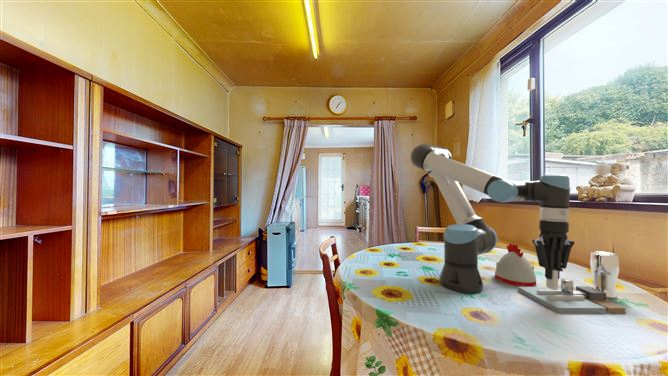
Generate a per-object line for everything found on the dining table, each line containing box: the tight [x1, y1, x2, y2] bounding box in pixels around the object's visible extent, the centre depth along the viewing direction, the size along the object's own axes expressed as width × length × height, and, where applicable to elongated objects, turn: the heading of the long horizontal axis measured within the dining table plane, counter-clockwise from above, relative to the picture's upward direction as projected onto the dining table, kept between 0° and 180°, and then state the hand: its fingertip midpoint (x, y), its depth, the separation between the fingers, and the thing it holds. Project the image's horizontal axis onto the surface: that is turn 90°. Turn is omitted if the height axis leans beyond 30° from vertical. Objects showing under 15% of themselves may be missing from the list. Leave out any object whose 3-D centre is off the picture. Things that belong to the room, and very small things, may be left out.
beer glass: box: [589, 250, 620, 299], centre depth 88 cm, size 7×7×15 cm
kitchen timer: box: [494, 243, 537, 287], centre depth 102 cm, size 14×14×15 cm
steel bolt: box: [559, 278, 589, 297], centre depth 83 cm, size 10×3×5 cm, turn 90°
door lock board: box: [517, 285, 626, 314], centre depth 83 cm, size 21×16×4 cm
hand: (551, 288), depth 84 cm, fingers closed
